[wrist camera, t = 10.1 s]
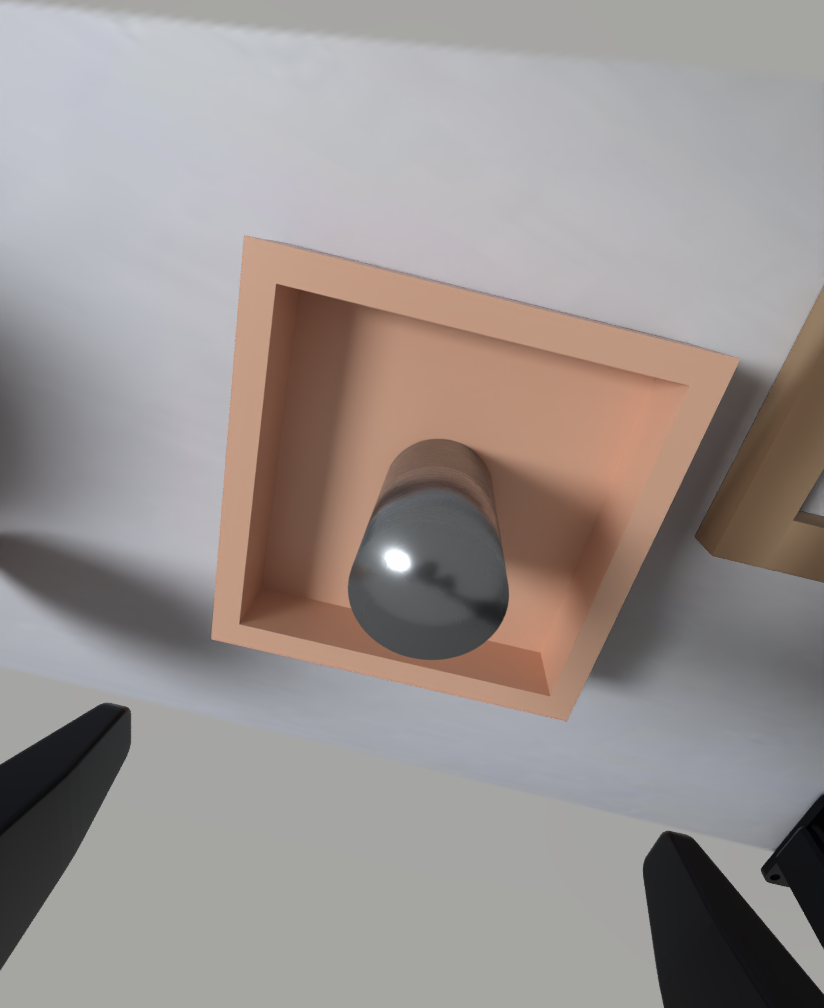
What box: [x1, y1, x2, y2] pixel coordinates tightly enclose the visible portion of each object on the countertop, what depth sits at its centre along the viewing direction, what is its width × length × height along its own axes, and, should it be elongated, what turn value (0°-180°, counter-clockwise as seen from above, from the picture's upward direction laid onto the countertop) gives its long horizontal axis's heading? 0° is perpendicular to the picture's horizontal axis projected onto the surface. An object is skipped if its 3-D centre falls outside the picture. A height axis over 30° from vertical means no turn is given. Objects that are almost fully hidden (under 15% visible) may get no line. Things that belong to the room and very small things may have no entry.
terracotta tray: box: [211, 236, 740, 721], centre depth 19 cm, size 14×14×4 cm
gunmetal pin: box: [348, 439, 509, 660], centre depth 16 cm, size 4×4×7 cm
